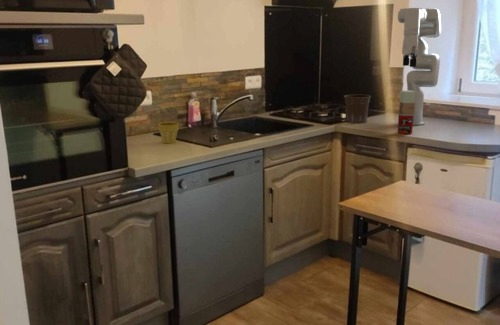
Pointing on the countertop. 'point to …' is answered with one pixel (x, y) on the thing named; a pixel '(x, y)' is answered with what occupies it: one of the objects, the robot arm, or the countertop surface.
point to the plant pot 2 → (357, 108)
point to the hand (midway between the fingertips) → (409, 66)
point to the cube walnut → (406, 108)
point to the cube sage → (407, 96)
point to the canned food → (405, 124)
